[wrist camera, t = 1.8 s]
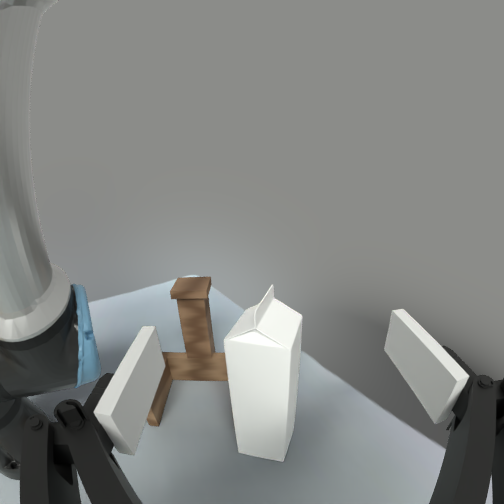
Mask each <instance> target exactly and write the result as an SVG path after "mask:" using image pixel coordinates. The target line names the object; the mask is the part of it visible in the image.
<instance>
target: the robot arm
mask: <svg viewBox="0 0 504 504" xmlns="http://www.w3.org/2000/svg"><path fill="white" fill-rule="evenodd" d="M57 1H59V0H0V472H1V473H2V474H3V475H5V476H7V477H9V478H11V479H15V480H20V504H81V500H80V493H79V487H78V479H77V471H78V474H79V476H80V479H81V481H82V483H83V486H84V488H85V490H86V493H87V495H88V497H89V499H90V501H91V503H92V504H142V502H141V501H140V499H139V498H138V496H137V495H136V493H135V491H134V490H133V488H132V487H131V485H130V483H129V482H128V480H127V478H126V477H125V475H124V473H123V471H122V470H121V468H120V466H119V464H118V462H117V461H116V459H115V457H114V455H113V454H112V452H111V451H112V449H113V446H115V448H116V449H117V451H118V452H119V453H123V454H128V455H133V456H135V452H136V449H137V446H138V443H139V440H140V437H141V434H142V431H143V428H144V425H145V422H146V419H147V416H148V413H149V410H150V408H151V405H152V402H153V399H154V396H155V393H156V391H157V388H158V385H159V382H160V379H161V377H162V374H163V371H164V369H165V363H164V359H163V355H162V351H161V347H160V343H159V339H158V335H157V330H156V326H142V328H141V330H140V331H139V333H138V335H137V336H136V338H135V340H134V341H133V343H132V345H131V346H130V348H129V350H128V351H127V353H126V355H125V357H124V358H123V360H122V362H121V363H120V365H119V367H118V369H117V370H116V372H115V374H111V373H106V374H105V375H104V376H103V377H101V378H100V379H99V381H98V382H97V384H96V386H95V388H94V389H93V391H92V394H90V396H89V397H88V399H87V401H86V403H85V404H84V406H83V407H82V405H81V404H80V402H78V401H77V400H72V399H69V400H64V401H62V402H60V403H59V404H58V405H57V406H56V408H55V410H54V415H55V417H56V418H57V420H58V421H59V422H50V420H49V419H48V417H47V416H46V415H45V414H44V412H43V411H42V410H40V409H39V408H38V407H37V406H36V405H34V404H33V403H32V402H31V401H30V400H29V399H28V398H26V397H28V396H34V395H39V394H44V393H50V392H55V391H60V390H65V389H70V388H78V387H80V385H83V384H86V383H89V382H93V381H95V380H96V379H98V377H99V376H100V373H101V365H100V360H99V355H98V351H97V346H96V342H95V337H94V334H93V328H92V322H91V317H90V311H89V306H88V301H87V296H86V291H85V288H84V287H83V286H82V285H76V284H72V285H70V281H69V279H68V277H67V275H66V273H65V272H64V271H63V269H61V268H60V267H59V266H57V265H55V264H52V263H50V260H49V257H48V253H47V249H46V245H45V241H44V237H43V232H42V228H41V223H40V218H39V212H38V207H37V201H36V195H35V187H34V179H33V170H32V159H31V144H30V95H31V79H32V69H33V60H34V53H35V47H36V41H37V35H38V30H39V25H40V21H41V17H42V15H43V13H44V12H45V11H46V10H47V9H49V8H50V7H51V6H52V5H54V4H55V3H56V2H57ZM384 350H385V352H386V353H387V354H388V356H389V357H390V358H391V360H392V361H393V363H394V364H395V366H396V367H397V368H398V370H399V371H400V373H401V374H402V376H403V377H404V379H405V380H406V381H407V383H408V384H409V386H410V387H411V389H412V390H413V392H414V393H415V395H416V396H417V398H418V399H419V401H420V402H421V403H422V405H423V407H424V408H425V410H426V411H427V412H428V414H429V416H430V417H431V419H432V420H433V422H434V423H435V424H436V423H439V422H441V421H444V420H446V419H447V418H448V416H449V415H450V413H451V411H453V412H454V414H455V416H454V417H453V419H452V421H451V422H450V424H449V426H448V427H447V429H446V430H449V428H450V427H451V430H450V435H449V440H448V444H447V448H446V452H445V456H444V460H443V463H442V467H441V470H440V474H439V477H438V480H437V483H436V486H435V489H434V492H433V495H432V497H431V500H430V503H429V504H485V502H486V498H487V493H488V489H489V483H490V478H491V472H492V491H493V504H504V378H503V380H498V381H493V379H492V378H490V377H489V376H486V375H479V376H477V375H476V374H475V373H474V372H473V371H472V370H471V369H470V368H469V367H468V366H467V365H466V364H465V363H464V362H463V361H462V360H461V359H460V358H459V357H458V356H457V354H456V353H454V351H453V350H451V349H449V348H448V347H446V346H440V345H439V344H438V343H437V342H436V341H435V340H434V339H433V338H432V337H431V336H430V335H429V334H428V333H427V332H426V331H425V330H424V329H423V328H422V327H421V326H420V325H419V324H418V323H417V322H416V321H415V320H414V319H413V318H412V317H411V316H410V315H409V314H408V313H407V312H406V311H405V310H404V309H399V310H393V311H392V314H391V319H390V325H389V330H388V335H387V339H386V344H385V348H384ZM76 469H77V470H76Z"/></svg>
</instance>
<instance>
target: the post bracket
mask: <svg viewBox="0 0 504 504" xmlns="http://www.w3.org/2000/svg"><path fill="white" fill-rule="evenodd" d="M210 287H211V277H188V278H178V279H177V281H176V282H175V284H174V286H173V287H172V289H171V291H170V294H171V299H177V305H178V311H179V316H180V322H181V328H182V333H183V338H184V344H185V349H186V353H174V352H162V355H163V359H164V363H165V369H164V371H163V374H162V377H161V379H160V382H159V385H158V388H157V391H156V393H155V396H154V399H153V402H152V405H151V408H150V410H149V413H148V416H147V421H148V423H149V425H151V426H159V424H160V421H161V417H162V414H163V410H164V407H165V404H166V400H167V397H168V394H169V390H170V387H171V384H172V380H195V381H228V374H227V366H226V358H225V353H215V347H214V339H213V332H212V324H211V316H210V307H209V298H208V294H209V291H210ZM232 414H233V412H232ZM233 421H234V419H233ZM234 428H235V426H234Z"/></svg>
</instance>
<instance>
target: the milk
mask: <svg viewBox="0 0 504 504" xmlns="http://www.w3.org/2000/svg"><path fill="white" fill-rule="evenodd" d="M301 334H302V315H301V314H299V313H297V312H296V311H294V310H293V309H291V308H289V307H288V306H286V305H285V304H283V303H282V302H280V301H278V300H277V299H275V298H274V286H273V285H271V287H270V288H269V290H268V291H267V293H266V294H265V296H264V298H263V299H262V301H261V302H260V304H257V305H255V306H253V307H250V308H248V309H246V310H245V312H244V313H243V314H242V316H241V317H240V318H239V320H238V321H237V322H236V324H235V325H234V326H233V328H232V329H231V331H230V332H229V333H228V335H227V336H226V337H225V339H224V349H225V358H226V366H227V374H228V382H229V390H230V398H231V405H232V412H233V419H234V426H235V433H236V440H237V446H238V452H239V453H242V454H247V455H251V456H255V457H260V458H265V459H270V460H275V461H281V462H283V461H284V459H285V456H286V453H287V450H288V446H289V443H290V440H291V437H292V433H293V430H294V422H295V413H296V402H297V391H298V379H299V366H300V351H301Z"/></svg>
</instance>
